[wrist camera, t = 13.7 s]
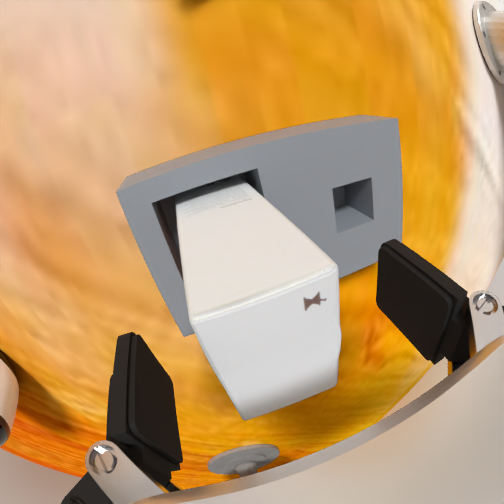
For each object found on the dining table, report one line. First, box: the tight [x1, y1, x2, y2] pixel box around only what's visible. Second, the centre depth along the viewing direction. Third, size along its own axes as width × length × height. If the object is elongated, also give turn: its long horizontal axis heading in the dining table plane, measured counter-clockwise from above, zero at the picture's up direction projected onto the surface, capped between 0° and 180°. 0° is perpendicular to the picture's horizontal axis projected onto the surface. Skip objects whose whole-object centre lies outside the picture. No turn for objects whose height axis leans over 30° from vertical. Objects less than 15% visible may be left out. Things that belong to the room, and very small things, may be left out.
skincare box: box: [175, 175, 341, 420], centre depth 13 cm, size 6×4×12 cm
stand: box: [116, 115, 403, 337], centre depth 18 cm, size 17×10×4 cm, turn 103°
